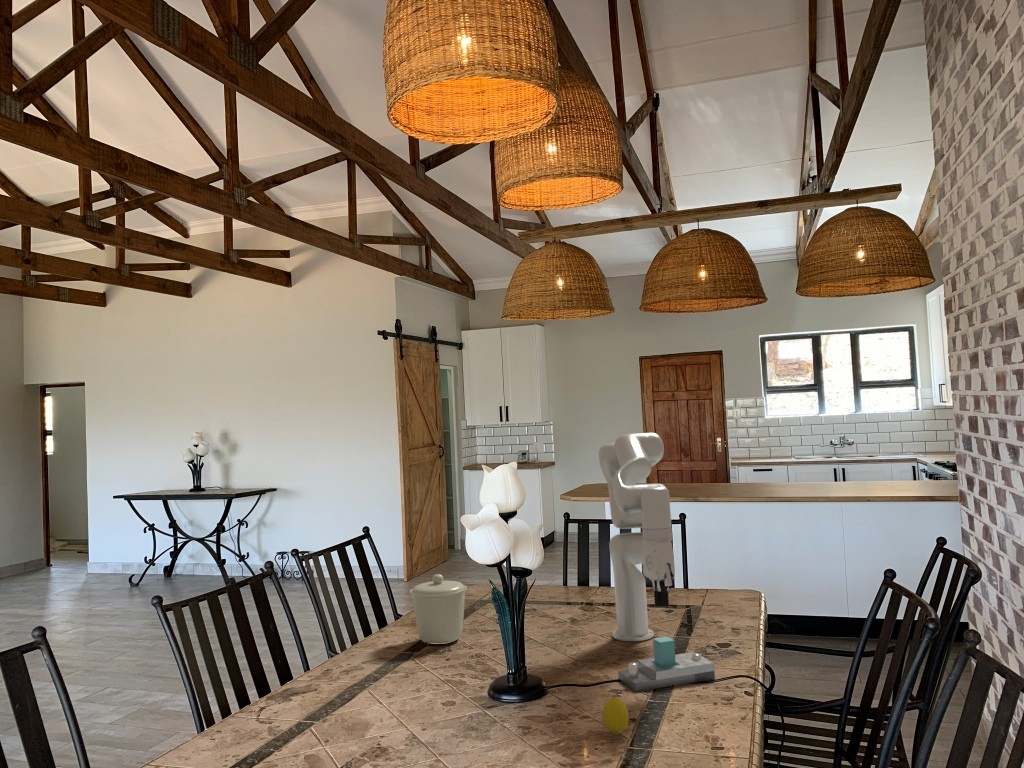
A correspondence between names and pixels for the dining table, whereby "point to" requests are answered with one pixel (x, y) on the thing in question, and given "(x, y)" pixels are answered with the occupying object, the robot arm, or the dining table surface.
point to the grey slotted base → (667, 672)
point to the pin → (664, 652)
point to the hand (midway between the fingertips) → (661, 605)
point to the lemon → (615, 715)
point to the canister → (439, 609)
